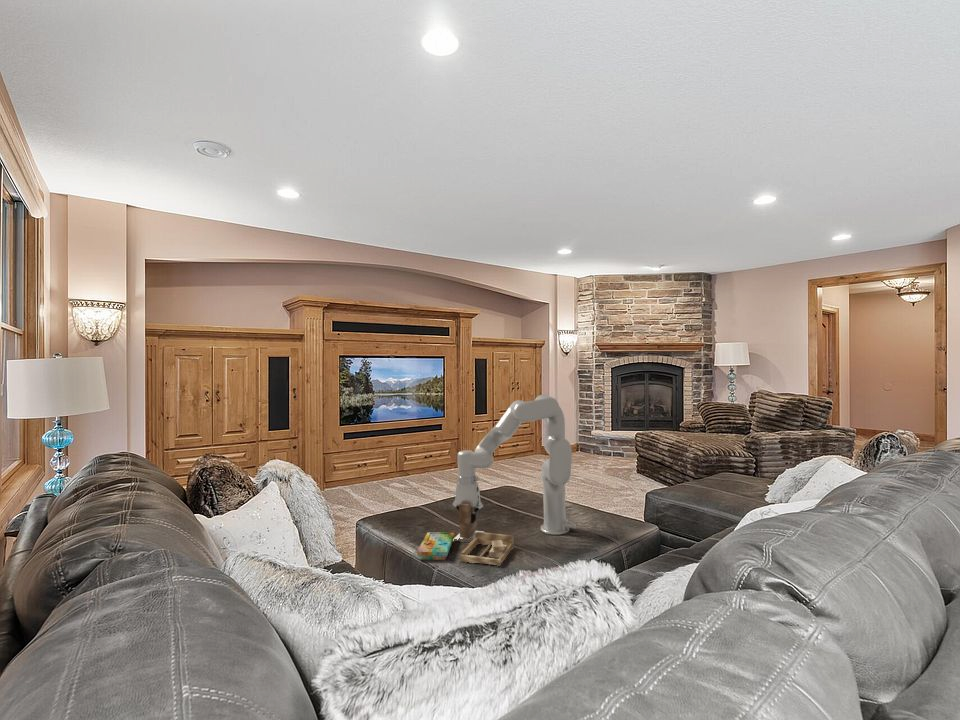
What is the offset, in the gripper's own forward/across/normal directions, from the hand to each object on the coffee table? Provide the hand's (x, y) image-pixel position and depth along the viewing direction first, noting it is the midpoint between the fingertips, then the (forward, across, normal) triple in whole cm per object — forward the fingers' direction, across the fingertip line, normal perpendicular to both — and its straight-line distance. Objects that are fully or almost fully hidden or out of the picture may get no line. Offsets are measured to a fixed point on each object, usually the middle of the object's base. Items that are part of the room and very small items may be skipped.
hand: (468, 521), depth 221 cm
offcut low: (+7, -18, +14) cm, 24 cm away
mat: (+7, 0, 0) cm, 7 cm away
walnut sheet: (+5, 0, 0) cm, 5 cm away
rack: (+7, -14, +15) cm, 22 cm away
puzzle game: (+7, +7, +17) cm, 20 cm away
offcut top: (+4, -18, +14) cm, 23 cm away
